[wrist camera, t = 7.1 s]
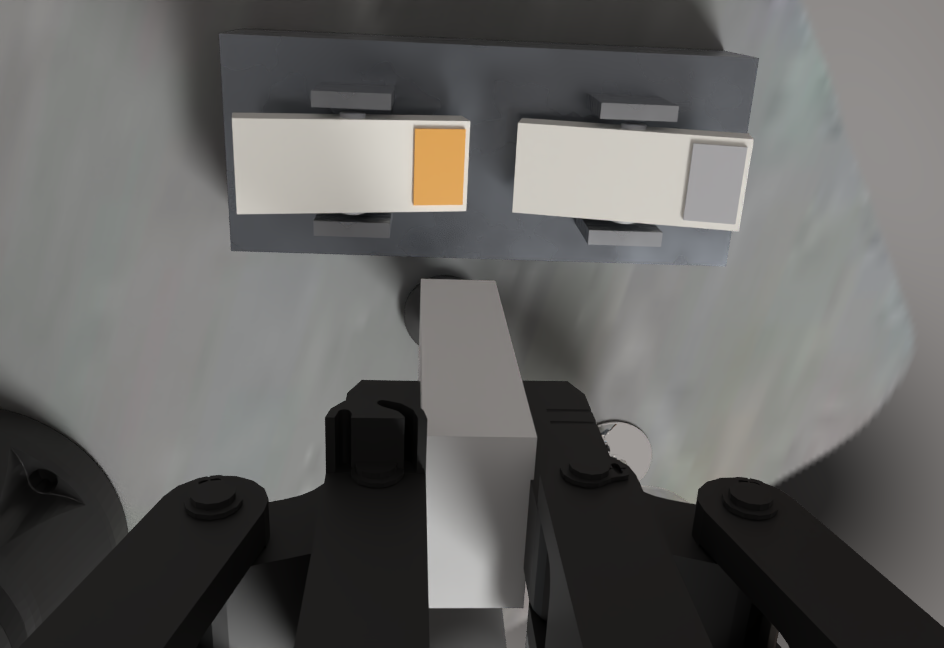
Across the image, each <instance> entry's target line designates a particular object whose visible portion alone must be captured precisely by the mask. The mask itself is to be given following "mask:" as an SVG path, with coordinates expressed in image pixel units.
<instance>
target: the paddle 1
mask: <svg viewBox="0 0 944 648" xmlns="http://www.w3.org/2000/svg"><path fill="white" fill-rule="evenodd" d="M232 132H233V150H234V169H235V188H236V207H237V214H297V213H343V214H348V215H360V214H364V213H371V212H445V211H466V206H467V184H468V161H469V138H470V121H469V120H468V119H466V118H465V117H463V116H452V115H377V114H366V113H364V112H358V111H343V112H340V114H303V113H232Z"/></svg>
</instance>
